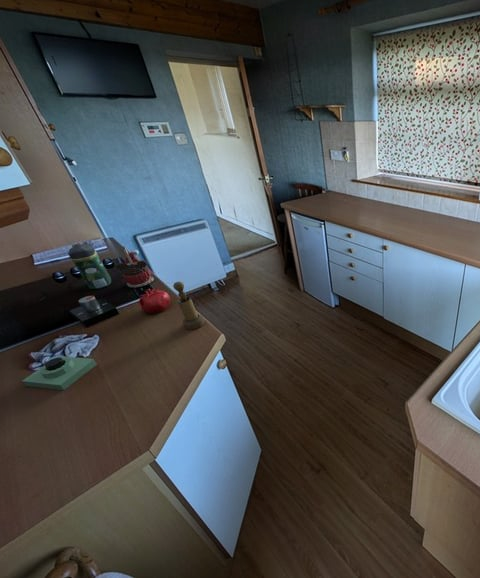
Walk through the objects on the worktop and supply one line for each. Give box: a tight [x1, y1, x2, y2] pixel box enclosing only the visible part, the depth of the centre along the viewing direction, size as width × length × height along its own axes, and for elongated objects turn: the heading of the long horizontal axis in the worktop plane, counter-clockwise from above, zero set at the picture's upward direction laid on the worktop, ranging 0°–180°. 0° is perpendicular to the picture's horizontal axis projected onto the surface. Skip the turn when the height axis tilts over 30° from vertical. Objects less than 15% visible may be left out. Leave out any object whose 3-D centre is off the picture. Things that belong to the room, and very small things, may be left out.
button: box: [43, 357, 65, 371], centre depth 85 cm, size 4×4×2 cm
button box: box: [21, 355, 98, 391], centre depth 86 cm, size 12×10×4 cm
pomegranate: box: [138, 288, 171, 314], centre depth 114 cm, size 10×10×9 cm
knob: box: [78, 295, 100, 312], centre depth 109 cm, size 4×4×5 cm
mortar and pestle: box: [172, 281, 205, 331], centre depth 103 cm, size 7×6×18 cm
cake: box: [115, 246, 155, 289], centre depth 128 cm, size 11×9×18 cm
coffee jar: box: [67, 242, 112, 290], centre depth 126 cm, size 10×8×19 cm
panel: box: [69, 298, 120, 329], centre depth 111 cm, size 12×10×3 cm
